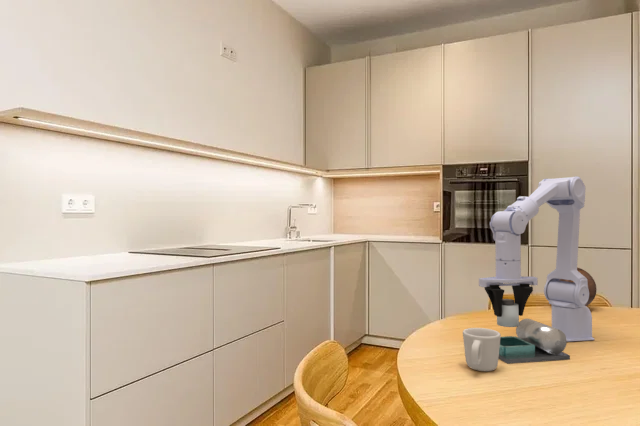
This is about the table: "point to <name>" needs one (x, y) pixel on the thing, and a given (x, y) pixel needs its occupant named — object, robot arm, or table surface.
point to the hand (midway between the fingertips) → (508, 315)
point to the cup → (481, 348)
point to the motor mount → (533, 344)
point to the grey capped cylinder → (509, 314)
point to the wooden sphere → (590, 285)
